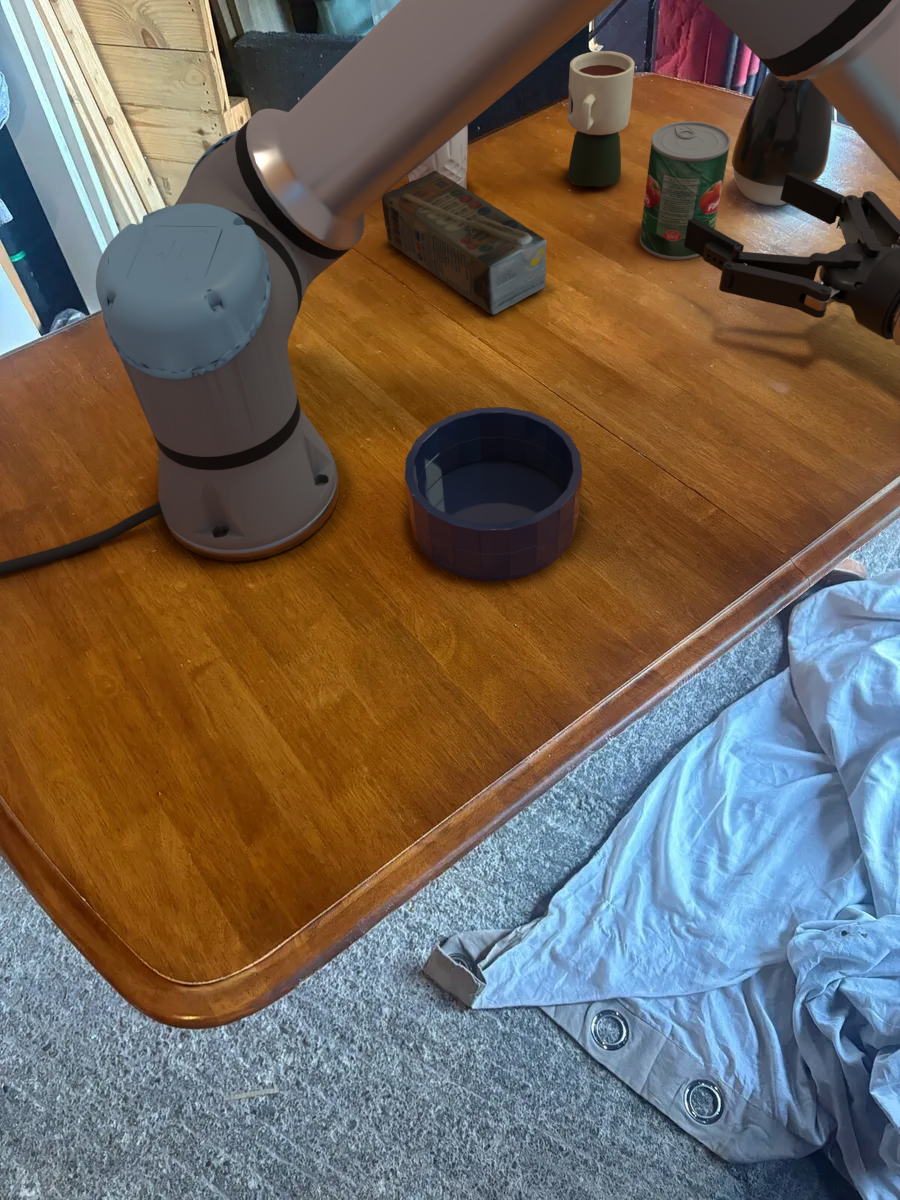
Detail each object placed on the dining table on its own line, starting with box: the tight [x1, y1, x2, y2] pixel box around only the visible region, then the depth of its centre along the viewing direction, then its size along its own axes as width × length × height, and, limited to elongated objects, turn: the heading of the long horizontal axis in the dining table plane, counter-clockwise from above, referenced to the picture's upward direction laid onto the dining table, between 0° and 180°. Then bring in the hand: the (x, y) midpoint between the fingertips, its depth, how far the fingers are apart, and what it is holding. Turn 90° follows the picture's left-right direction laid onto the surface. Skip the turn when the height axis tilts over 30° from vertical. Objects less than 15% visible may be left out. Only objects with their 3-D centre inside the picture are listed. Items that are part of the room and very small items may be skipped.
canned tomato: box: [639, 121, 732, 261], centre depth 94 cm, size 8×8×11 cm
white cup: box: [407, 124, 469, 189], centre depth 104 cm, size 8×8×10 cm
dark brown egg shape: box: [731, 70, 833, 207], centre depth 97 cm, size 10×10×15 cm
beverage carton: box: [381, 171, 548, 316], centre depth 95 cm, size 8×19×7 cm, turn 37°
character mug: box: [566, 50, 636, 187], centre depth 103 cm, size 11×7×13 cm, turn 156°
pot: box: [404, 406, 583, 582], centre depth 72 cm, size 14×14×6 cm
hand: (738, 208), depth 89 cm, fingers open, 13 cm apart
